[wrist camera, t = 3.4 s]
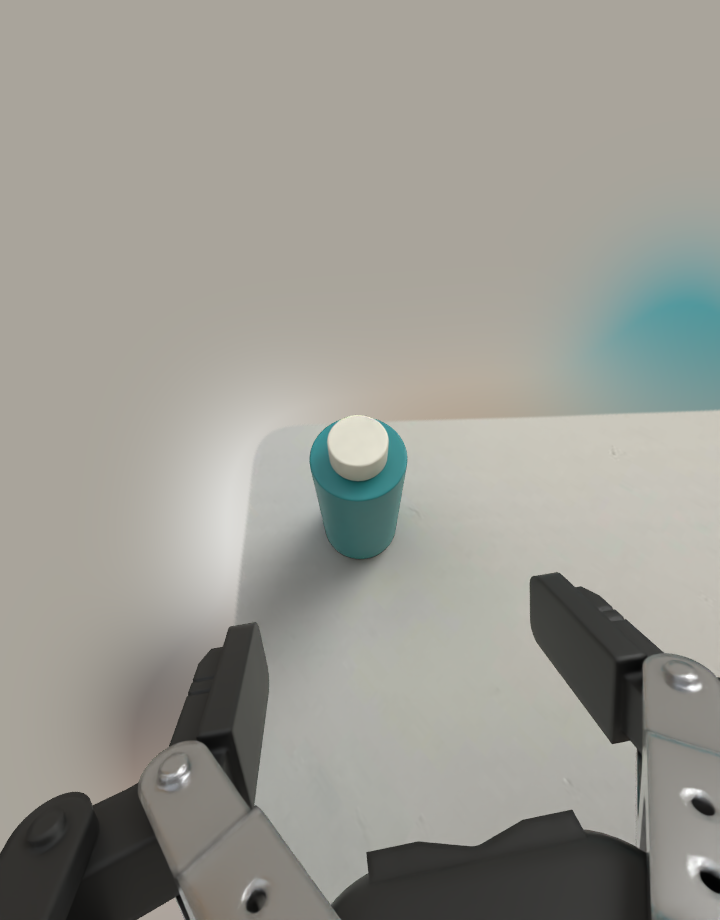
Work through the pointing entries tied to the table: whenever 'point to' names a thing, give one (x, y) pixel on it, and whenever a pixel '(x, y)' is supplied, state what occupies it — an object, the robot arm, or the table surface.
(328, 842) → the table surface
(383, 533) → the water bottle
